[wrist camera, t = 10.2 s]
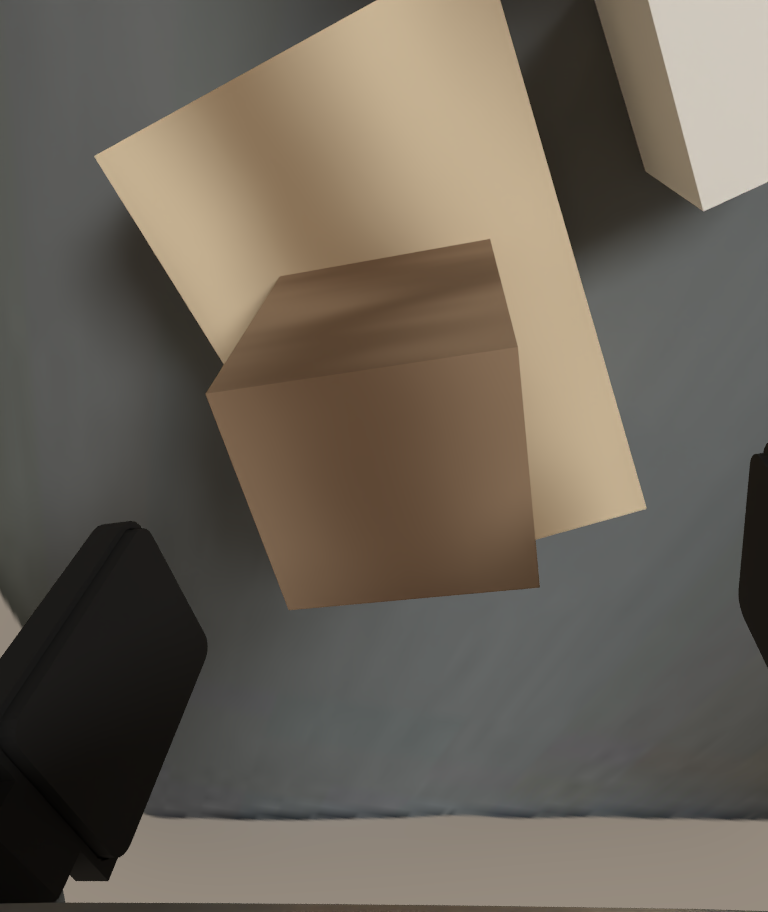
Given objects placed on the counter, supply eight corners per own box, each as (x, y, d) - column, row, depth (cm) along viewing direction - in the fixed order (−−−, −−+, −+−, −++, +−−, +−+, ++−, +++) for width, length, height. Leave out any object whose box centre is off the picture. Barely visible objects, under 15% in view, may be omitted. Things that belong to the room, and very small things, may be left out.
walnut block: (490, 238, 15) (517, 347, 10) (509, 426, 17) (539, 587, 12) (279, 276, 15) (205, 393, 10) (329, 449, 18) (288, 609, 13)
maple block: (469, -34, 17) (483, -59, 12) (601, 406, 24) (646, 508, 19) (183, 122, 19) (94, 156, 14) (376, 479, 26) (362, 587, 21)
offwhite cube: (798, -141, 15) (937, -205, 11) (831, 78, 17) (956, 94, 13) (589, -16, 17) (640, -30, 12) (644, 171, 19) (703, 211, 15)
